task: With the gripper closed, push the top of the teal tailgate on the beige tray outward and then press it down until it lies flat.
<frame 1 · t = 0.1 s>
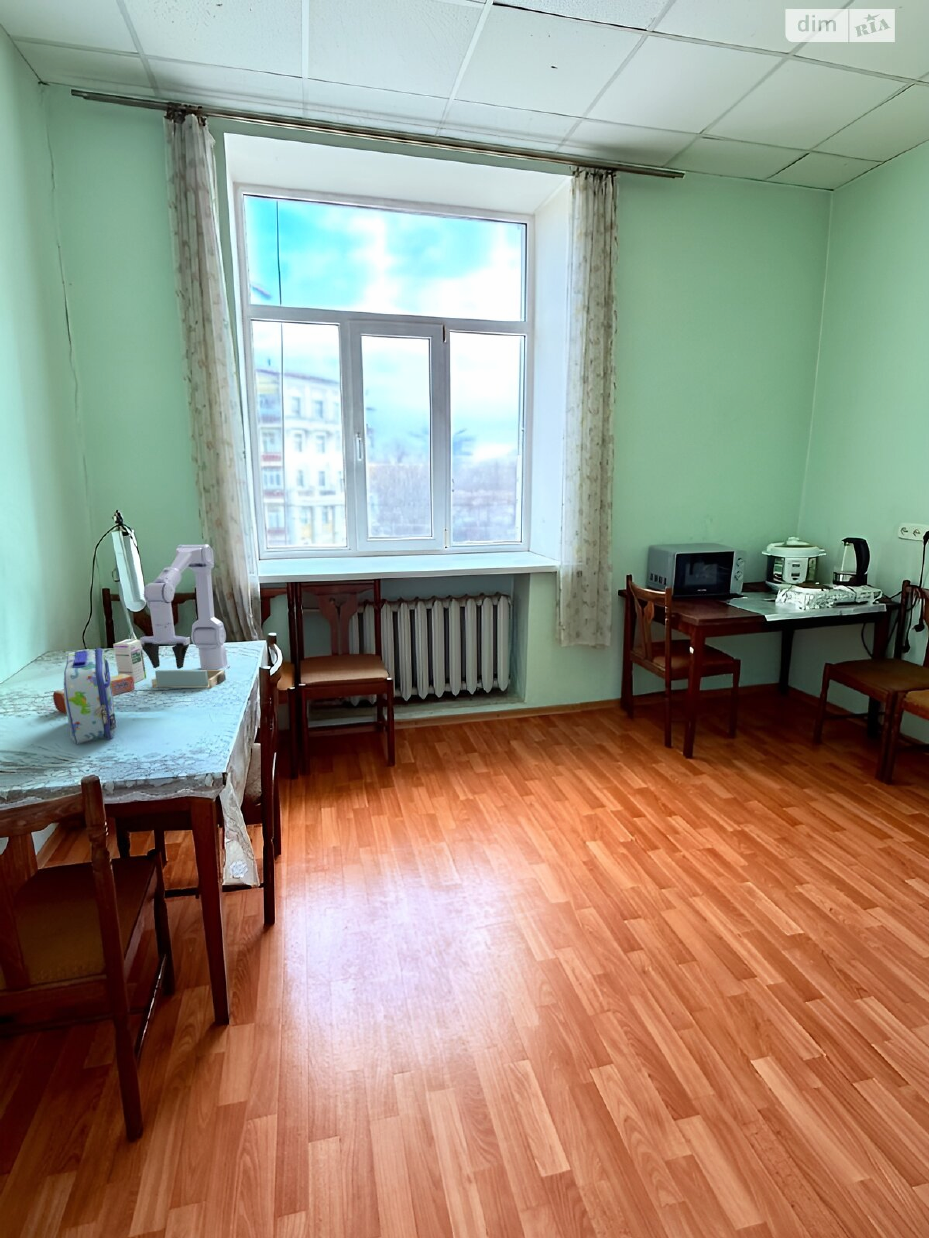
hand: (168, 667, 192), 10 cm above the table, tool pointing down, fingers open, 7 cm apart
tailgate: (181, 678, 200), point 4 cm above the table, hinge at 0.0°
lunch box: (95, 730, 172), on the table
snack package: (97, 703, 194), on the table
syrup box: (133, 685, 209), on the table
beige tray: (190, 686, 206), on the table
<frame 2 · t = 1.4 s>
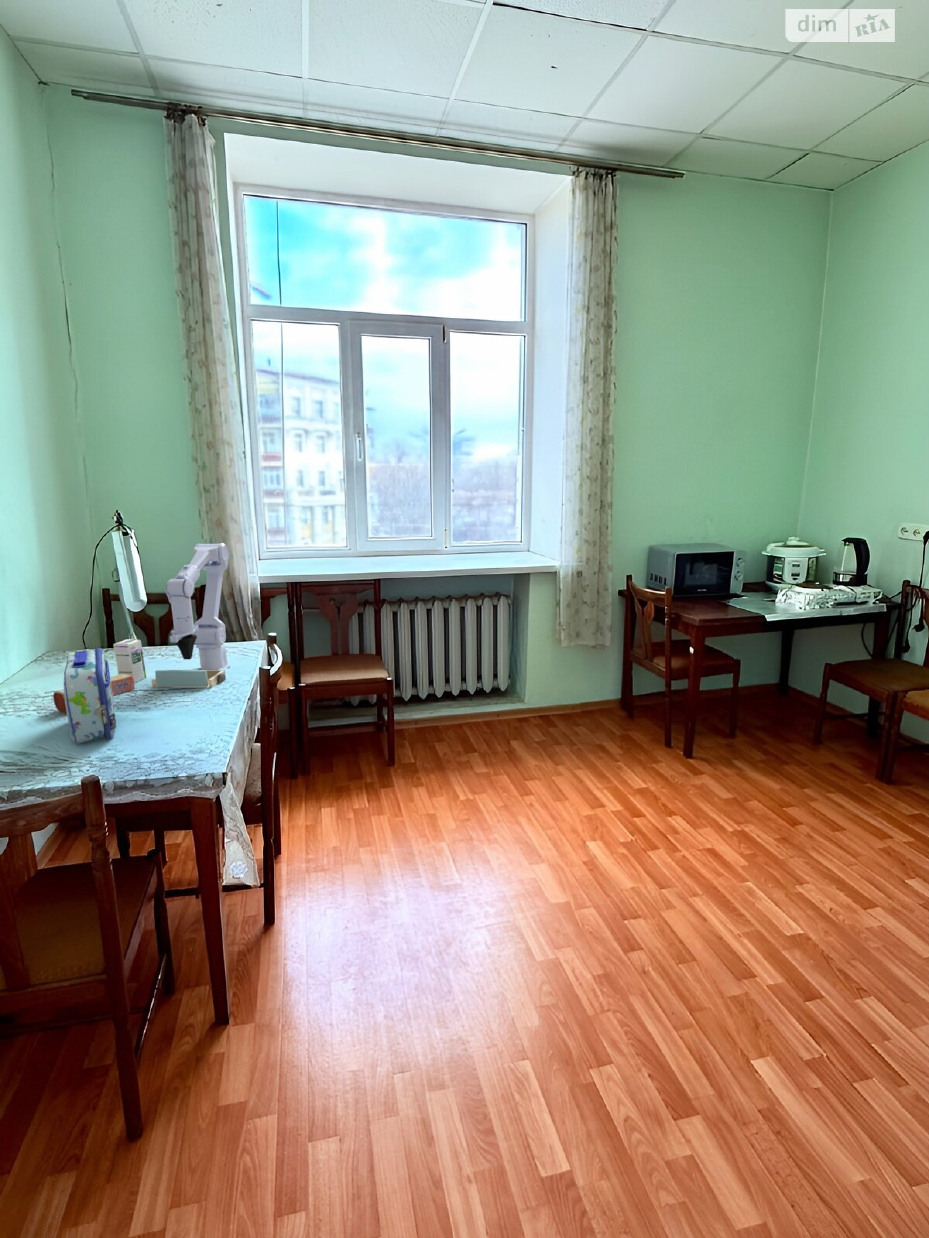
hand: (187, 658, 204), 9 cm above the table, tool pointing down, fingers closed
nothing on the table moved.
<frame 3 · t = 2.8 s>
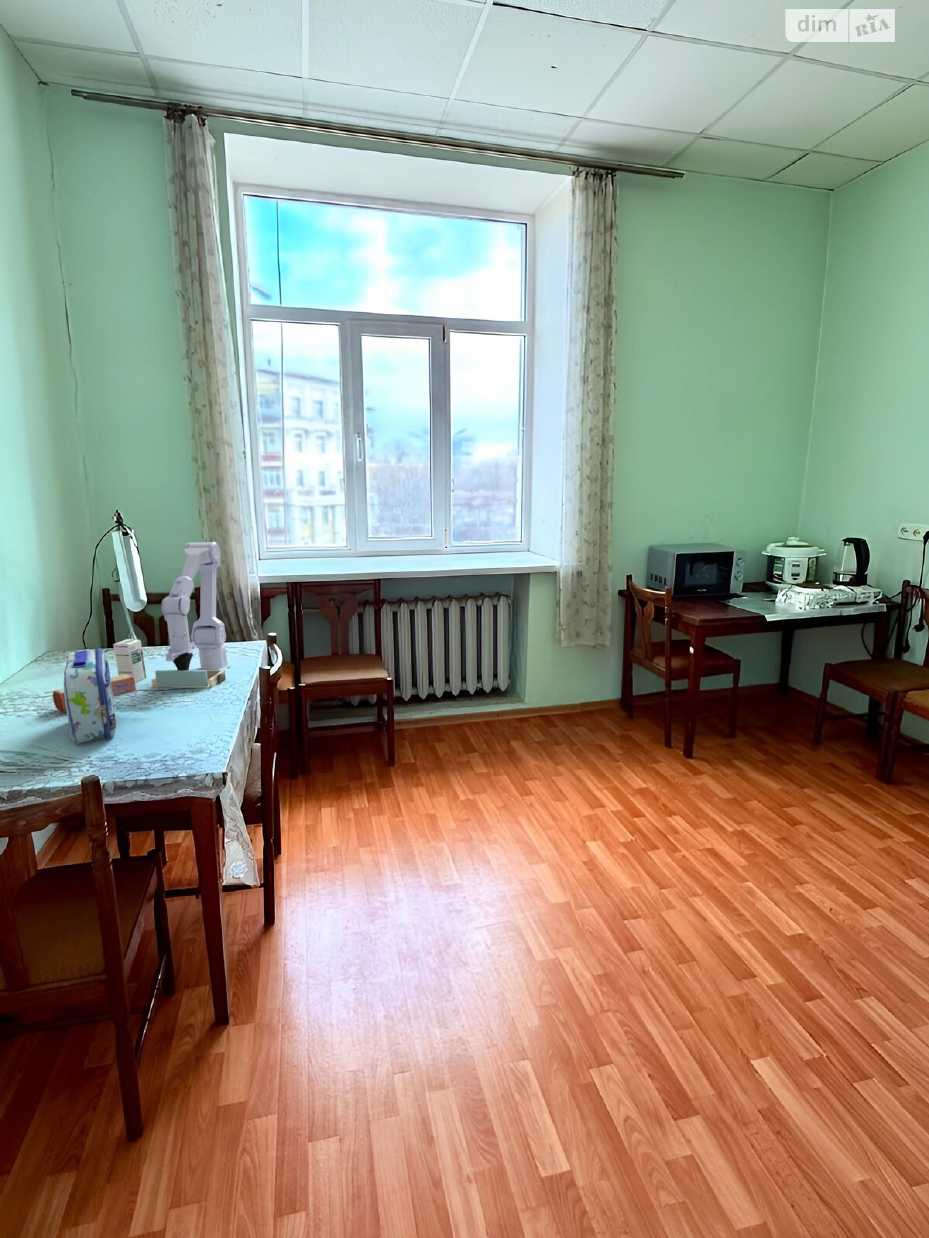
hand: (184, 676, 202), 4 cm above the table, tool pointing down, fingers closed, pressing on tailgate
tailgate: (181, 678, 200), point 4 cm above the table, hinge at 0.1°, touching gripper
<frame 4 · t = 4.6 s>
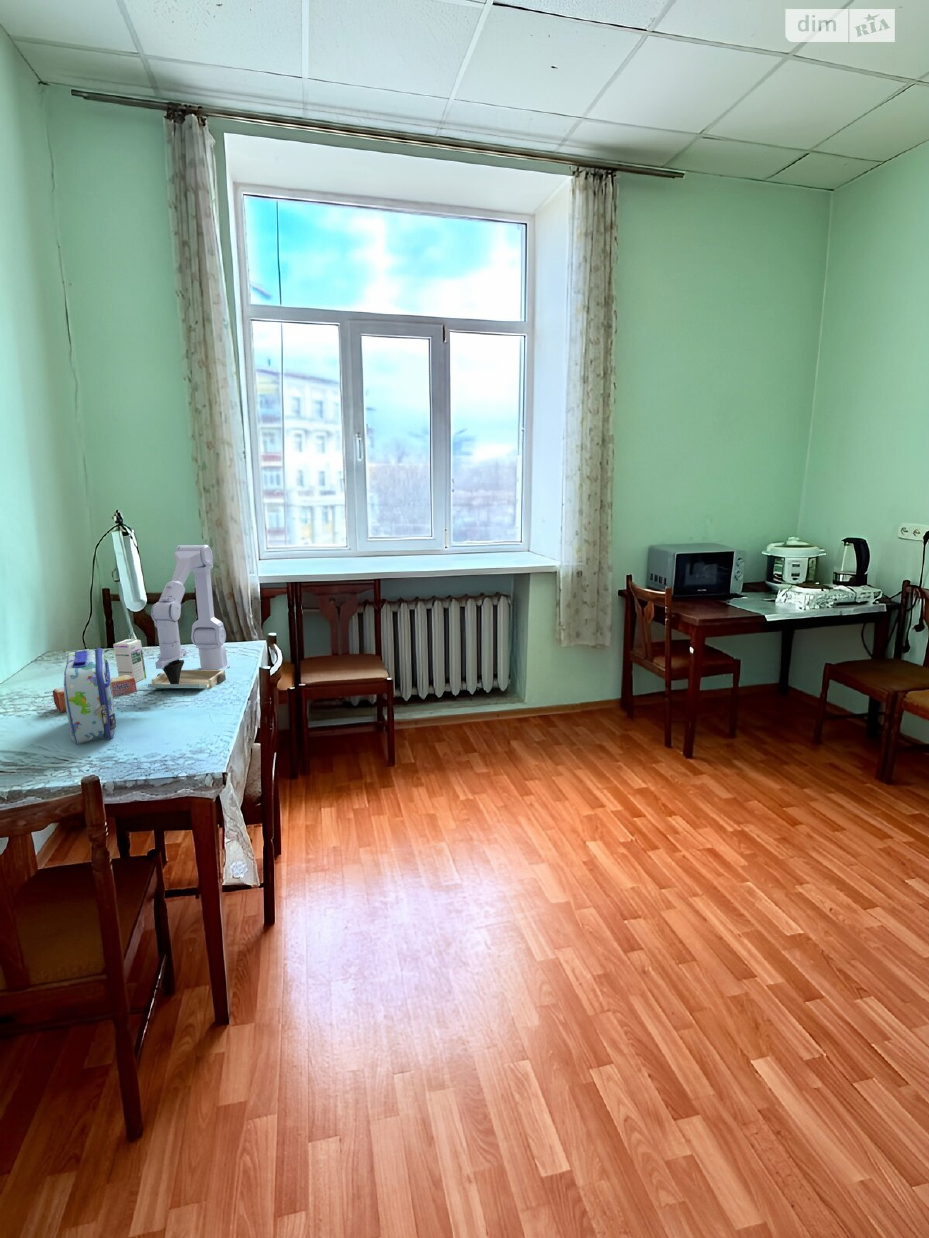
hand: (174, 684, 196), 4 cm above the table, tool pointing down, fingers closed, pressing on tailgate
tailgate: (177, 685, 198), point 3 cm above the table, hinge at 70.9°, touching gripper
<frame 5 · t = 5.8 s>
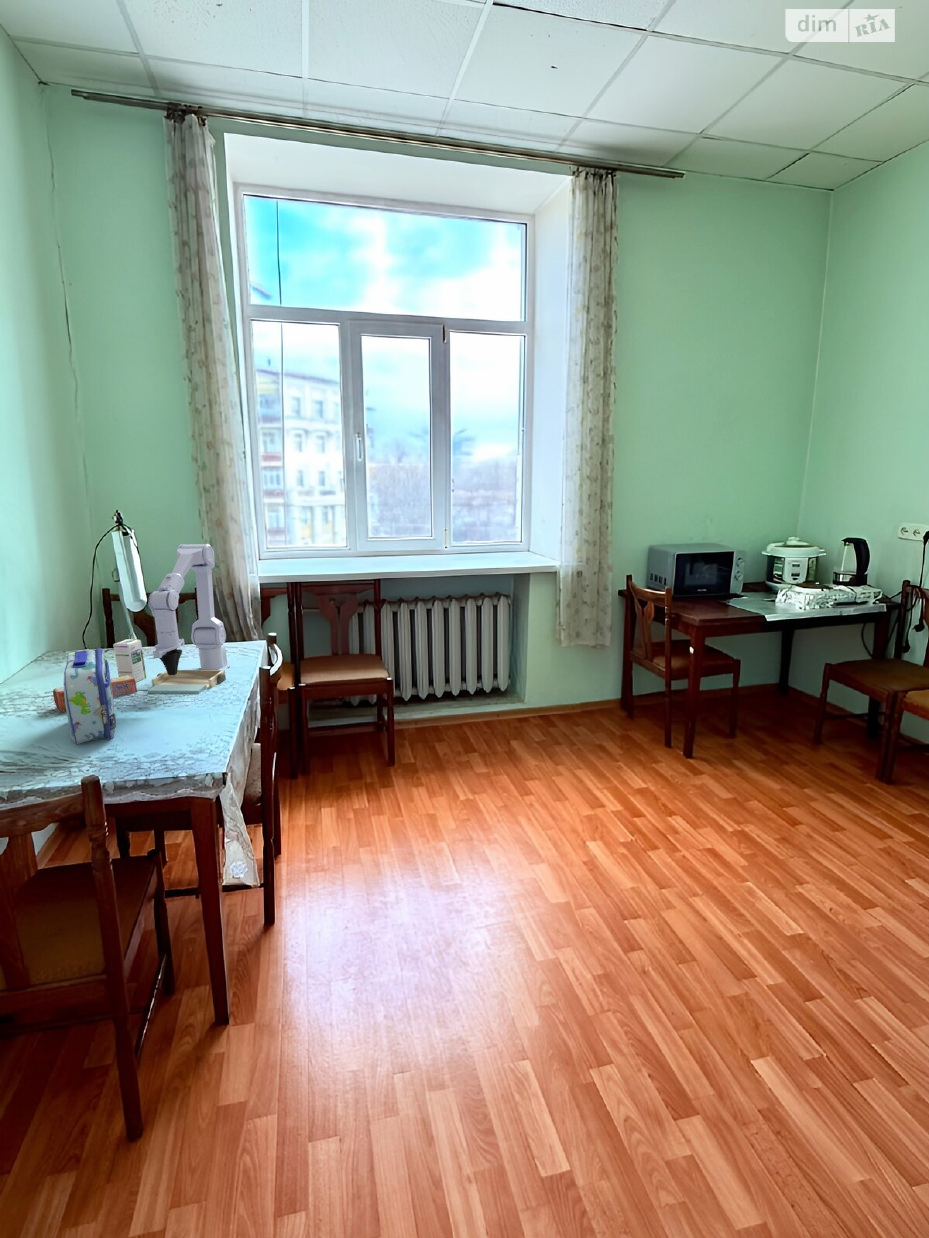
hand: (172, 674, 195), 7 cm above the table, tool pointing down, fingers closed
tailgate: (177, 689, 198), point 2 cm above the table, hinge at 91.9°
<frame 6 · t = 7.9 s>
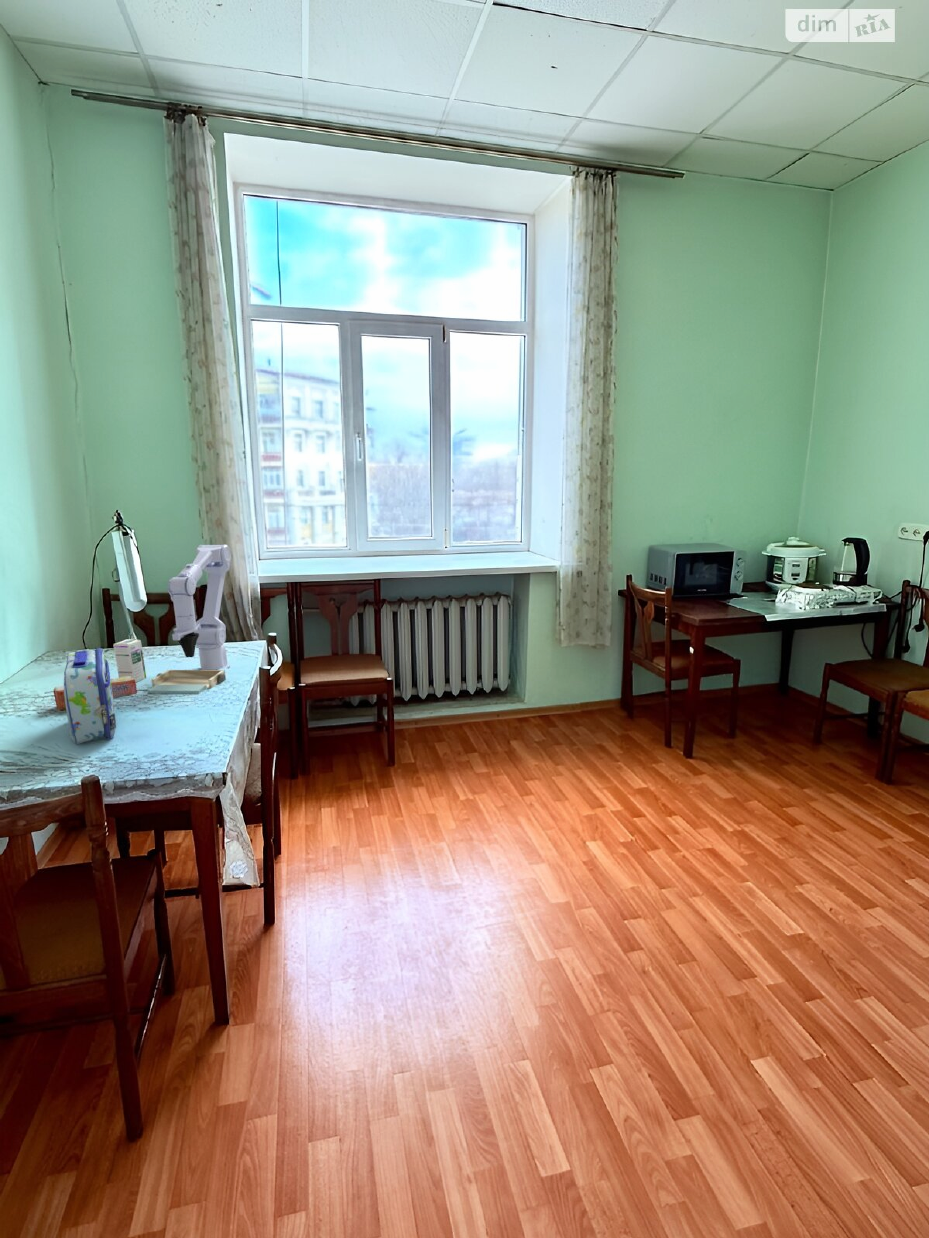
hand: (190, 656, 205), 9 cm above the table, tool pointing down, fingers closed
at the end: tailgate at +92° (first picture: +0°) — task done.
